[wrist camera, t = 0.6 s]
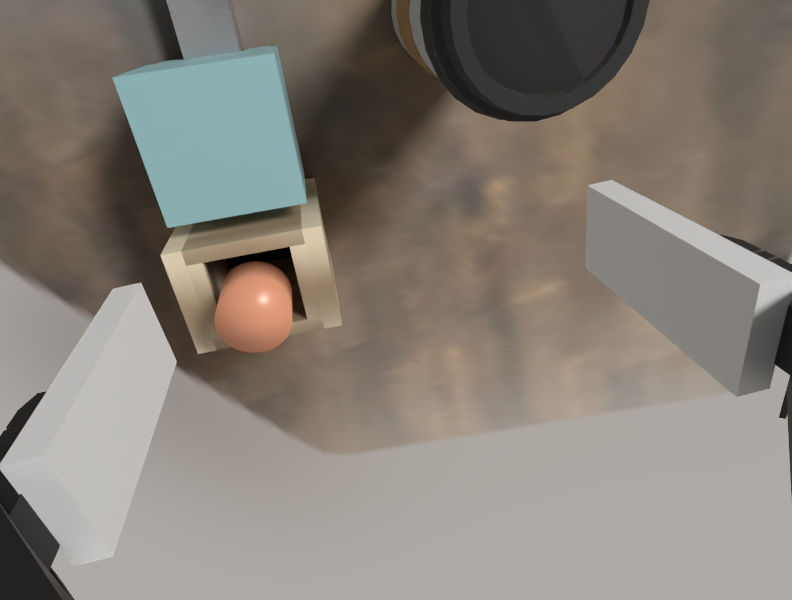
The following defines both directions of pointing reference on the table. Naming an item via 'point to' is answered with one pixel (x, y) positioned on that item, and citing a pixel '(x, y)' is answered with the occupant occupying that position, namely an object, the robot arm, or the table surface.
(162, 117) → the block
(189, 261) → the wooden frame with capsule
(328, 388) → the table surface
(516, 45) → the coffee cup
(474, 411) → the table surface
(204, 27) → the rail
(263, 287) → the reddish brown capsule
